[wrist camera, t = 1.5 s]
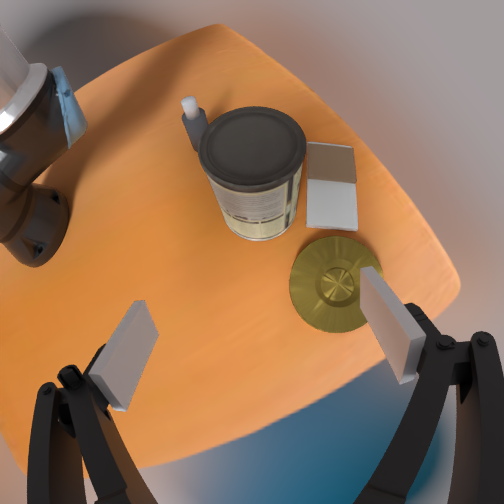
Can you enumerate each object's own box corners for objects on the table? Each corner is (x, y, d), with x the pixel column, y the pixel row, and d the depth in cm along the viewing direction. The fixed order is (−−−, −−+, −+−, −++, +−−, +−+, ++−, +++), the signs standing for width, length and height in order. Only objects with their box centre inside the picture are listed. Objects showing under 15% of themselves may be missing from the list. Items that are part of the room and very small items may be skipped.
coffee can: (215, 185, 40) (191, 119, 26) (284, 169, 40) (287, 98, 26) (230, 251, 37) (206, 200, 23) (306, 232, 37) (322, 173, 23)
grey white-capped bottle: (191, 152, 42) (173, 109, 32) (195, 136, 43) (179, 94, 33) (211, 152, 42) (197, 108, 32) (215, 136, 43) (202, 92, 33)
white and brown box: (305, 227, 37) (307, 221, 35) (306, 145, 41) (307, 138, 39) (356, 231, 36) (359, 226, 34) (350, 150, 40) (352, 143, 38)
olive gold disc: (280, 251, 36) (280, 245, 34) (364, 234, 36) (369, 228, 34) (299, 342, 33) (301, 343, 31) (386, 319, 32) (393, 318, 30)
